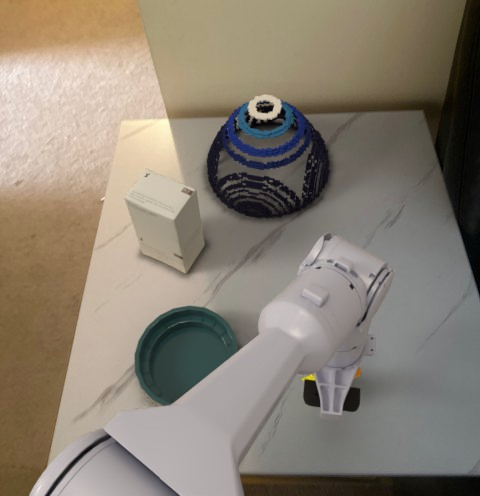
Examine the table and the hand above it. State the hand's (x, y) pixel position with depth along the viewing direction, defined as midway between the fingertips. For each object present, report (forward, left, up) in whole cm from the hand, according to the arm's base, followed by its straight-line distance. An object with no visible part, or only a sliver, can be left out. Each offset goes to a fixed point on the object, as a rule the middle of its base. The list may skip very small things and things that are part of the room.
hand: (330, 369), depth 64 cm
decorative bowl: (+35, +12, -9) cm, 38 cm away
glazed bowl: (+1, +18, -8) cm, 20 cm away
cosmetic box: (+18, +24, -9) cm, 31 cm away
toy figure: (0, 0, -9) cm, 9 cm away
